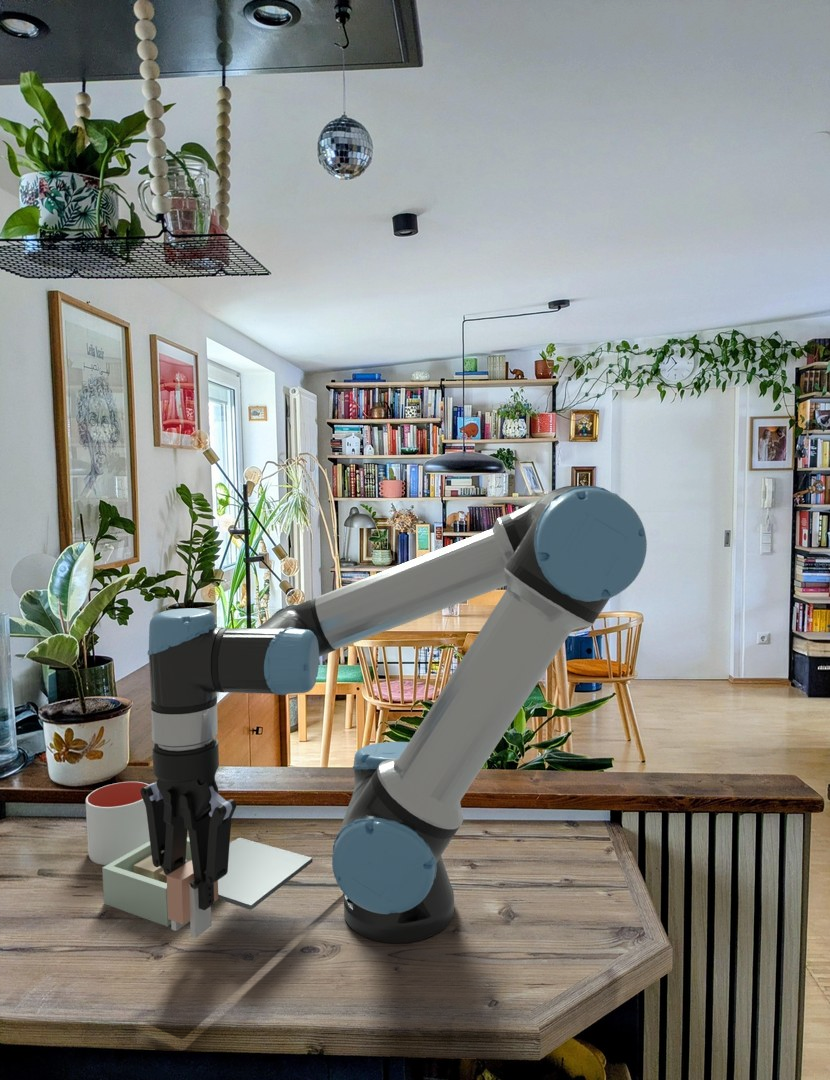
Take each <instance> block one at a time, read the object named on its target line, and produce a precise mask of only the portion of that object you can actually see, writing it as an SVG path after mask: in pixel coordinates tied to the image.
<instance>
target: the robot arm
mask: <svg viewBox="0 0 830 1080" xmlns="http://www.w3.org/2000/svg"><path fill="white" fill-rule="evenodd" d="M647 545H648V543H647V536H646V531H645V527H644V525H643V521H642V519H641V518H640V516H639V515H638V513H637V511H636V510H635V508H633V507H632V506H631V504H629V503H628V502H627V501H626V500H625V499H624V498H622V497H620V496H619V495H618V494H617V493H614V492H612V491H610V490H608V489H606V488H604V487H602V486H601V487H600V486H596V485H583V486H582V485H567V486H562V487H559V488H556V489H553V490H552V491H550V492H548V493H546V494H544V495H543V496H541V497H539V498H537V499H535V500H533V501H532V502H530V503H527V504H526V505H525V506H522V507H521V508H518V509H516V510H514V511H512V512H510V513H508V514H505V515H502V516H499V517H497V518H496V520H495V522H494V524H493V527H492V528H490V529H487V530H485V531H482V532H481V533H477V534H475V535H472V536H469V537H467V538H465V539H462V540H460V541H459V540H458V541H457V542H455V543H452V544H449V545H447V546H444V547H442V548H439V549H437V550H435V551H434V550H433V551H431V552H428V553H426V554H423V555H422V556H418V557H416V558H413V559H411V560H408V561H406V562H403V563H401V564H398V565H396V566H395V565H394V566H393V567H390V568H388V569H385V570H383V571H380V572H378V573H376V574H373V575H370V576H367V577H365V578H361V579H360V580H357V581H354V582H352V583H350V584H347V585H344V586H341V587H340V588H339V587H338V588H337V589H334V590H332V591H328V592H327V593H324V594H321V595H318V596H317V597H315V598H312V599H309V600H306V601H303V602H302V603H295V604H289V605H287V606H285V607H282V608H280V609H278V610H277V611H275V613H274V614H273V615H271V617H269V618H268V619H267V620H266V621H264V622H263V623H262V624H261V625H259V626H258V627H255V628H254V627H250V628H248V627H247V628H243V627H242V628H240V627H239V628H230V627H229V628H227V627H219V626H217V625H218V624H217V622H216V618H215V614H214V612H213V611H211V610H209V609H205V608H195V607H194V608H193V607H192V608H191V607H190V608H188V607H187V608H176V609H175V608H174V609H168V610H163V611H161V612H158V613H157V614H155V615H153V616H152V618H151V619H150V622H149V627H148V628H149V629H148V630H149V631H148V634H149V635H148V650H147V656H148V662H149V664H148V665H149V681H150V683H149V684H150V698H151V699H150V700H151V701H150V707H151V708H150V711H151V712H150V713H151V714H150V717H151V718H150V719H151V741H153V742H154V745H152V749H151V750H152V771H153V772H152V773H153V775H154V777H156V778H157V779H156V780H155V781H154V782H152V783H150V784H149V785H147V786H145V787H143V788H142V789H141V795H142V798H143V801H144V803H145V806H146V812H147V821H148V829H149V837H150V845H151V853H152V862H153V865H154V866H155V867H159V866H160V867H162V868H163V869H164V873H165V875H168V874H170V873H172V872H173V871H175V870H176V869H178V868H180V867H181V866H183V865H184V864H186V863H188V862H189V861H188V860H187V859H186V846H187V837H189V841H190V849H191V857H192V865H193V873H194V881H193V882H191V883H190V884H189V893H190V920H189V921H187V922H186V923H184V924H180V923H178V922H175V921H172V920H171V925H170V927H171V931H174V932H175V931H176V932H177V931H178V930H180V929H181V928H183V927H184V926H185V925H186V924H188V923H190V924H189V925H190V937H191V938H194V939H196V938H198V937H199V936H201V935H202V934H203V933H205V932H206V931H208V929H210V928H211V927H212V906H213V905H214V903H215V902H214V883H215V882H216V881H217V880H219V879H220V878H222V877H223V876H225V875H226V874H227V872H228V859H229V845H230V843H231V830H232V829H231V828H232V827H231V826H232V818H233V815H234V813H235V810H236V808H237V802H236V801H235V799H233V798H230V799H228V800H226V799H225V798H224V797H223V796H222V795H220V794H219V787H218V785H217V782H216V773H217V771H218V768H219V766H220V765H219V764H220V758H219V757H220V754H219V753H220V751H219V739H218V738H217V737H216V736H217V735H218V730H219V729H218V693H226V694H227V693H232V694H233V693H234V694H237V693H238V694H263V695H264V694H265V695H267V694H268V695H270V694H271V695H275V694H276V695H279V696H287V695H292V694H294V695H295V694H305V693H309V692H310V691H312V690H313V688H314V687H315V686H316V683H317V678H318V673H319V667H320V665H319V664H320V657H323V656H326V655H327V654H330V653H331V652H334V651H337V650H339V649H342V648H344V647H347V646H349V645H352V644H355V643H357V642H360V641H363V640H366V639H369V638H372V637H374V636H376V635H379V634H381V633H384V632H386V631H390V630H392V629H395V628H396V627H397V628H398V627H400V626H402V625H405V624H407V623H410V622H413V621H416V620H418V619H421V618H424V617H427V616H429V615H431V614H435V613H437V612H440V611H442V610H444V609H447V608H450V607H454V606H456V605H458V604H460V603H463V602H466V601H469V600H472V599H474V598H477V597H479V596H483V595H484V594H488V593H491V592H492V591H495V590H498V589H500V588H503V587H505V586H506V590H505V592H504V593H503V594H502V596H501V597H500V599H499V601H498V602H497V604H496V605H495V607H494V609H493V610H492V611H491V613H490V615H489V616H488V618H487V619H486V620H485V623H484V624H483V626H482V627H481V629H480V630H479V632H478V634H477V636H476V637H475V639H473V642H472V643H471V645H470V646H469V648H468V649H467V651H466V652H465V654H464V655H463V657H462V659H461V661H460V662H459V663H458V665H457V667H456V668H455V669H454V671H453V673H452V675H450V677H449V679H448V681H447V682H446V684H445V686H444V687H443V688H442V690H441V692H440V694H439V695H438V696H437V698H436V700H435V701H434V703H433V704H432V706H431V707H430V709H429V711H428V712H427V713H426V715H425V717H424V719H422V722H421V723H420V725H419V726H418V728H417V729H416V731H415V733H413V736H412V737H411V739H410V740H409V741H386V742H378V743H377V742H376V743H372V744H368V745H364V746H363V747H361V748H359V749H358V750H357V751H356V752H355V754H354V760H353V766H352V770H353V774H354V778H353V779H354V781H353V782H354V783H353V792H352V796H351V798H350V801H349V803H348V806H347V809H346V812H345V814H344V817H343V820H342V823H341V825H340V829H339V830H338V833H337V835H336V836H335V838H334V842H333V843H334V844H333V846H332V852H333V853H332V857H331V859H332V860H331V864H332V865H331V866H332V872H333V876H334V878H335V881H336V884H337V885H338V887H339V889H340V891H341V892H342V893H343V894H344V898H343V914H344V919H345V921H346V923H347V925H348V926H349V927H350V928H351V930H353V931H354V932H356V933H357V934H358V935H360V936H363V937H364V938H367V939H369V940H373V941H377V942H381V943H382V942H383V943H389V944H391V943H392V944H393V943H394V944H401V943H402V944H403V943H412V942H417V941H418V942H419V941H421V940H424V939H428V938H430V937H432V936H434V935H436V934H438V933H440V932H442V931H443V930H444V929H445V928H446V927H447V926H448V925H450V923H451V921H452V920H453V917H454V914H455V894H454V889H453V887H452V883H451V881H450V877H449V875H448V872H447V868H446V866H445V863H444V860H443V857H442V854H443V853H444V852H445V850H446V849H447V847H448V846H449V844H450V843H451V841H452V840H453V838H454V836H455V835H456V833H457V832H458V830H459V829H460V827H461V826H462V823H464V813H463V809H462V805H461V801H462V800H463V798H464V796H465V794H467V792H468V790H469V788H470V787H471V785H472V784H473V782H474V781H475V780H476V778H477V776H478V774H480V771H481V770H482V768H483V767H484V765H485V764H486V762H487V761H488V759H489V758H490V756H491V755H492V754H493V752H494V750H495V749H496V747H497V746H498V744H499V743H500V741H501V740H502V738H503V737H504V735H505V734H506V732H507V730H508V729H509V727H510V726H511V724H512V723H513V721H514V720H515V718H516V716H517V715H518V714H519V712H520V710H522V708H523V706H524V705H525V703H526V701H527V700H528V698H529V696H531V694H532V692H533V691H534V690H535V687H536V686H537V685H538V683H539V681H540V680H541V678H542V677H543V675H544V674H545V672H546V671H547V670H548V667H550V665H551V664H552V662H553V660H554V658H555V657H556V655H557V654H558V653H559V651H560V650H561V647H562V646H563V645H564V644H565V641H566V640H567V639H568V637H569V636H570V634H571V633H572V632H573V631H575V630H577V629H584V628H588V627H591V626H593V625H594V623H595V621H596V620H597V618H598V617H599V616H600V614H601V613H602V612H603V610H604V608H605V607H606V605H607V604H608V602H609V601H610V599H612V598H614V597H615V596H617V595H619V594H620V593H622V592H623V591H625V590H627V588H628V587H630V586H631V585H632V583H634V582H635V581H636V579H637V577H638V576H639V575H640V573H641V570H642V568H643V567H644V563H645V560H646V556H647V547H648V546H647ZM163 850H164V852H163V853H162V854H161V851H163ZM187 861H188V862H187Z"/></svg>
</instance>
